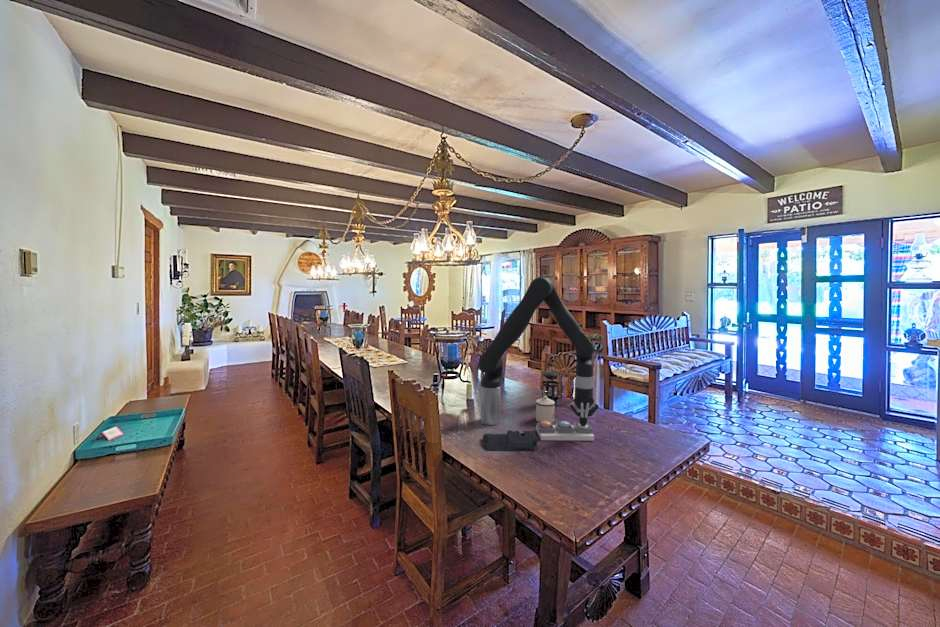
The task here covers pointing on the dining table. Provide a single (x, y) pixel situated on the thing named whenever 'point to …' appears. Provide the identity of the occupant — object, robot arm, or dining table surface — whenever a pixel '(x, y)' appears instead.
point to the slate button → (564, 424)
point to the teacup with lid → (545, 409)
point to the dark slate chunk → (510, 441)
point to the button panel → (565, 432)
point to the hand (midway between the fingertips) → (583, 425)
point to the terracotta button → (545, 424)
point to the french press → (551, 393)
